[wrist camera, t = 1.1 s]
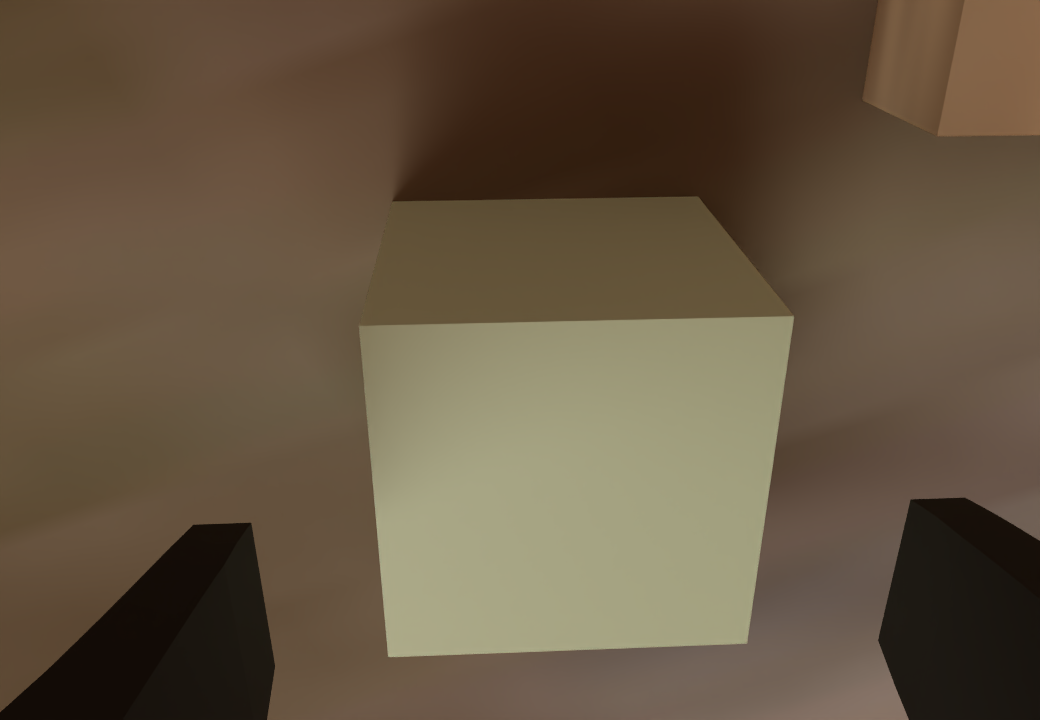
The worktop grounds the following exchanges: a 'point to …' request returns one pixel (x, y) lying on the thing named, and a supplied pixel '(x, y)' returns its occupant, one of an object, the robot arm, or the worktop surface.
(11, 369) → the worktop surface
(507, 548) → the sage block
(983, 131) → the birch base block
